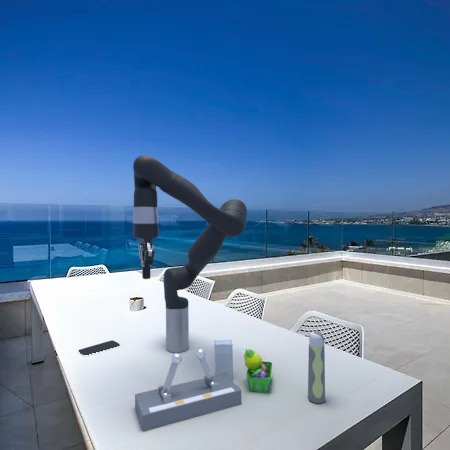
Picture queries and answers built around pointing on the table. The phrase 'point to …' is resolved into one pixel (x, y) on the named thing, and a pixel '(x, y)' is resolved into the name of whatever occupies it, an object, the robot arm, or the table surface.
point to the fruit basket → (257, 371)
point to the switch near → (171, 373)
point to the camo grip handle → (316, 368)
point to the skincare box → (223, 358)
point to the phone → (99, 347)
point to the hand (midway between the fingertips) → (146, 278)
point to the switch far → (204, 365)
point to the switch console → (185, 401)
